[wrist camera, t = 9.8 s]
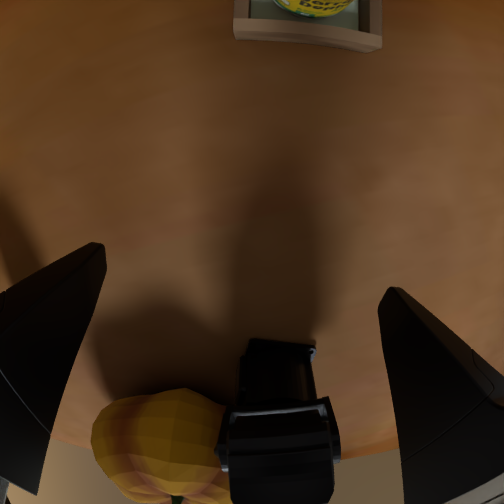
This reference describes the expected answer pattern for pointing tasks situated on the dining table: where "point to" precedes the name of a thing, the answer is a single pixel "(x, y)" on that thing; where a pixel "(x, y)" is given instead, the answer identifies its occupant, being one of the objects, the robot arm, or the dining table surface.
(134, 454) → the decorative pumpkin
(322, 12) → the supplement bottle
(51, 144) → the dining table surface
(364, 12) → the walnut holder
